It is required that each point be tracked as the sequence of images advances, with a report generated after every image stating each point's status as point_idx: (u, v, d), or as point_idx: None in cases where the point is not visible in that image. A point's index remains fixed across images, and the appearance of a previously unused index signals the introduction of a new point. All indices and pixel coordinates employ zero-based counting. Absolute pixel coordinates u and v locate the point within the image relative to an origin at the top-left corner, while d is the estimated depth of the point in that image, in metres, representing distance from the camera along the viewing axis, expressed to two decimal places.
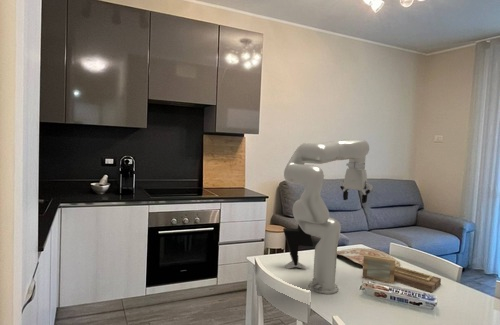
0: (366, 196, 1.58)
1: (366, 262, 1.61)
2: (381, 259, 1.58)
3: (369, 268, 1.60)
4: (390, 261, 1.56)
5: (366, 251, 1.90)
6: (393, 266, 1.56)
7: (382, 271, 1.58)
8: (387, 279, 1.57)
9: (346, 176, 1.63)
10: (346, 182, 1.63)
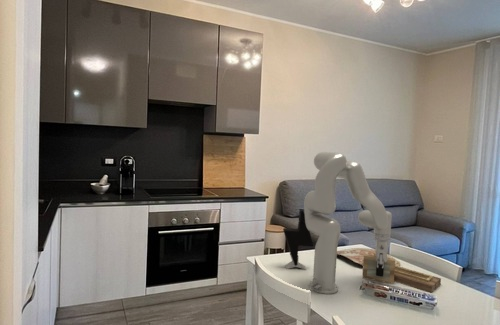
0: None
1: (366, 263, 1.61)
2: None
3: (369, 268, 1.60)
4: (390, 261, 1.56)
5: (366, 251, 1.90)
6: (393, 266, 1.56)
7: None
8: (387, 279, 1.57)
9: (387, 250, 1.55)
10: None
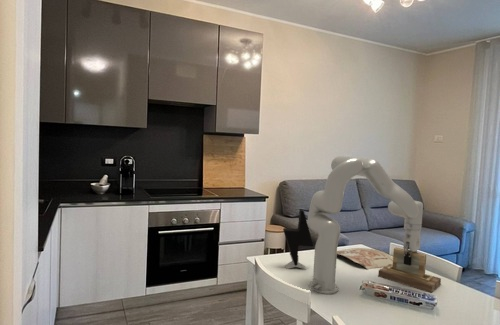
0: None
1: (396, 256, 1.64)
2: None
3: (399, 261, 1.63)
4: (419, 256, 1.56)
5: (366, 251, 1.90)
6: (422, 261, 1.55)
7: (411, 265, 1.58)
8: (416, 274, 1.57)
9: (414, 239, 1.56)
10: (414, 245, 1.56)
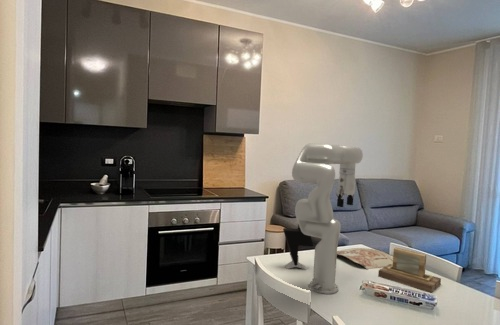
0: None
1: (396, 256, 1.64)
2: (410, 253, 1.59)
3: (399, 261, 1.63)
4: (419, 256, 1.56)
5: (366, 251, 1.90)
6: (422, 261, 1.55)
7: (411, 265, 1.58)
8: (416, 274, 1.57)
9: (347, 183, 1.63)
10: (347, 189, 1.64)
